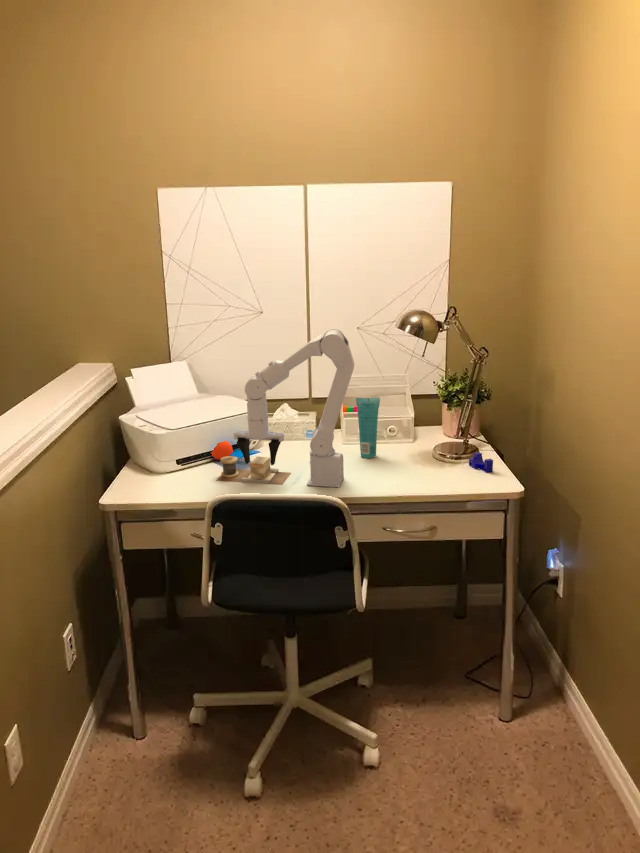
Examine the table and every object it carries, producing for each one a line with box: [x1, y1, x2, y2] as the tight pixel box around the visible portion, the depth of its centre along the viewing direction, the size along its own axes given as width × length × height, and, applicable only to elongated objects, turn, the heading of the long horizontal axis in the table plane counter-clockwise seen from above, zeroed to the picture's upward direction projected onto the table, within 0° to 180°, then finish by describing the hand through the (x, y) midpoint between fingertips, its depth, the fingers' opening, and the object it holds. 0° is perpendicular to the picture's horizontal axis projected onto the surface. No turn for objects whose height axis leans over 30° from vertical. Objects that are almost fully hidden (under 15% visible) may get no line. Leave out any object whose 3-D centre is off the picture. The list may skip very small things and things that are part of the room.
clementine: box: [210, 440, 234, 461], centre depth 232 cm, size 8×7×7 cm
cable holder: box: [468, 451, 494, 474], centre depth 221 cm, size 8×4×4 cm, turn 18°
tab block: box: [249, 456, 271, 479], centre depth 214 cm, size 4×6×5 cm
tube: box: [355, 397, 381, 459], centre depth 232 cm, size 7×5×19 cm, turn 91°
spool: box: [219, 455, 239, 478], centre depth 216 cm, size 5×5×5 cm
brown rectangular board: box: [215, 467, 292, 486], centre depth 215 cm, size 20×10×2 cm, turn 77°
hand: (260, 463), depth 213 cm, fingers open, 7 cm apart
